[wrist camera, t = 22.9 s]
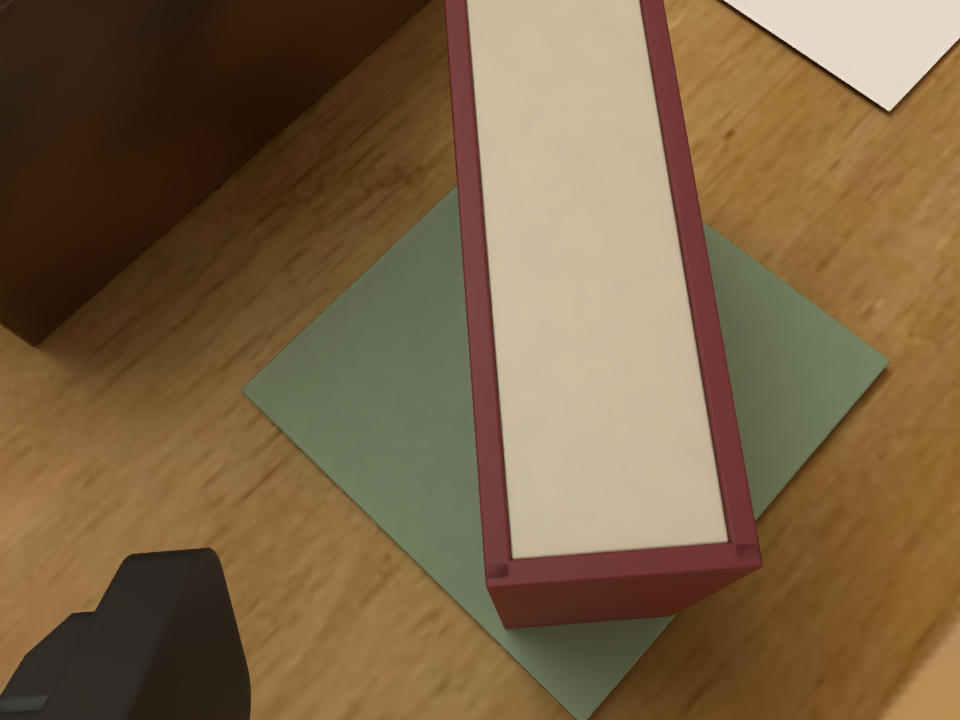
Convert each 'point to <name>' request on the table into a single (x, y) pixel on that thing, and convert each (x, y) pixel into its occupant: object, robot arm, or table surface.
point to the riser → (145, 123)
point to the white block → (864, 38)
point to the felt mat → (451, 433)
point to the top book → (590, 318)
